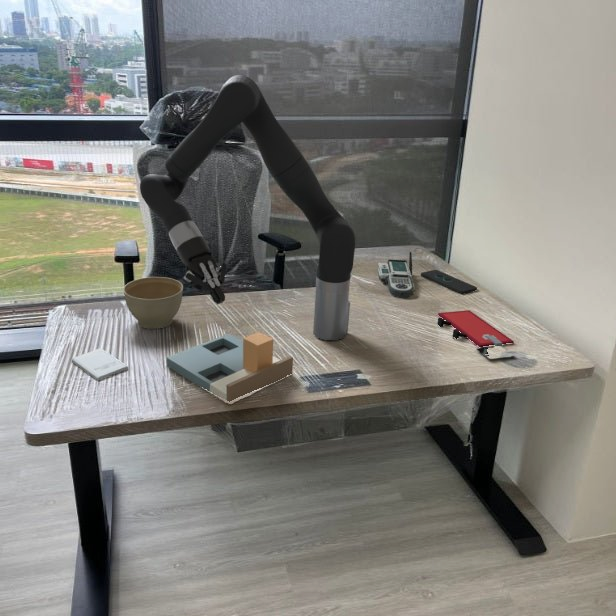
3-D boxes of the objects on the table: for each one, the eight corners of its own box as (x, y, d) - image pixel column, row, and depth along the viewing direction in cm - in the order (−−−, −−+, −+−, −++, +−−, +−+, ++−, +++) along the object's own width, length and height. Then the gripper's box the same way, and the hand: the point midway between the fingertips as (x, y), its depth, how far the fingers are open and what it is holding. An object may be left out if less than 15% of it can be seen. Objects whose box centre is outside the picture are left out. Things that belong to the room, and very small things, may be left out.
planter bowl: (114, 329, 166) (111, 293, 162) (145, 307, 180) (143, 273, 176) (166, 339, 162) (164, 302, 158) (194, 316, 176) (193, 281, 172)
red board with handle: (483, 363, 158) (530, 357, 163) (485, 354, 157) (532, 348, 162) (426, 318, 184) (468, 314, 189) (428, 309, 183) (470, 306, 188)
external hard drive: (102, 353, 155) (128, 371, 147) (71, 363, 149) (98, 383, 141) (101, 347, 154) (128, 365, 146) (71, 358, 148) (97, 377, 141)
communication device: (381, 298, 196) (383, 273, 193) (375, 272, 218) (378, 249, 214) (418, 300, 196) (421, 275, 193) (408, 273, 218) (411, 251, 214)
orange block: (258, 360, 148) (258, 331, 145) (272, 368, 145) (273, 339, 142) (243, 367, 145) (243, 338, 142) (257, 375, 142) (257, 345, 139)
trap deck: (229, 341, 162) (229, 324, 160) (292, 375, 148) (293, 357, 146) (167, 366, 149) (166, 348, 147) (229, 405, 134) (229, 386, 132)
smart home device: (436, 268, 220) (478, 287, 205) (435, 273, 221) (477, 291, 206) (419, 272, 216) (461, 291, 201) (419, 277, 216) (460, 296, 201)
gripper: (173, 240, 144) (206, 302, 142) (216, 230, 153) (248, 288, 150) (161, 256, 149) (193, 316, 147) (204, 245, 158) (234, 301, 156)
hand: (221, 302), depth 149 cm, fingers closed
